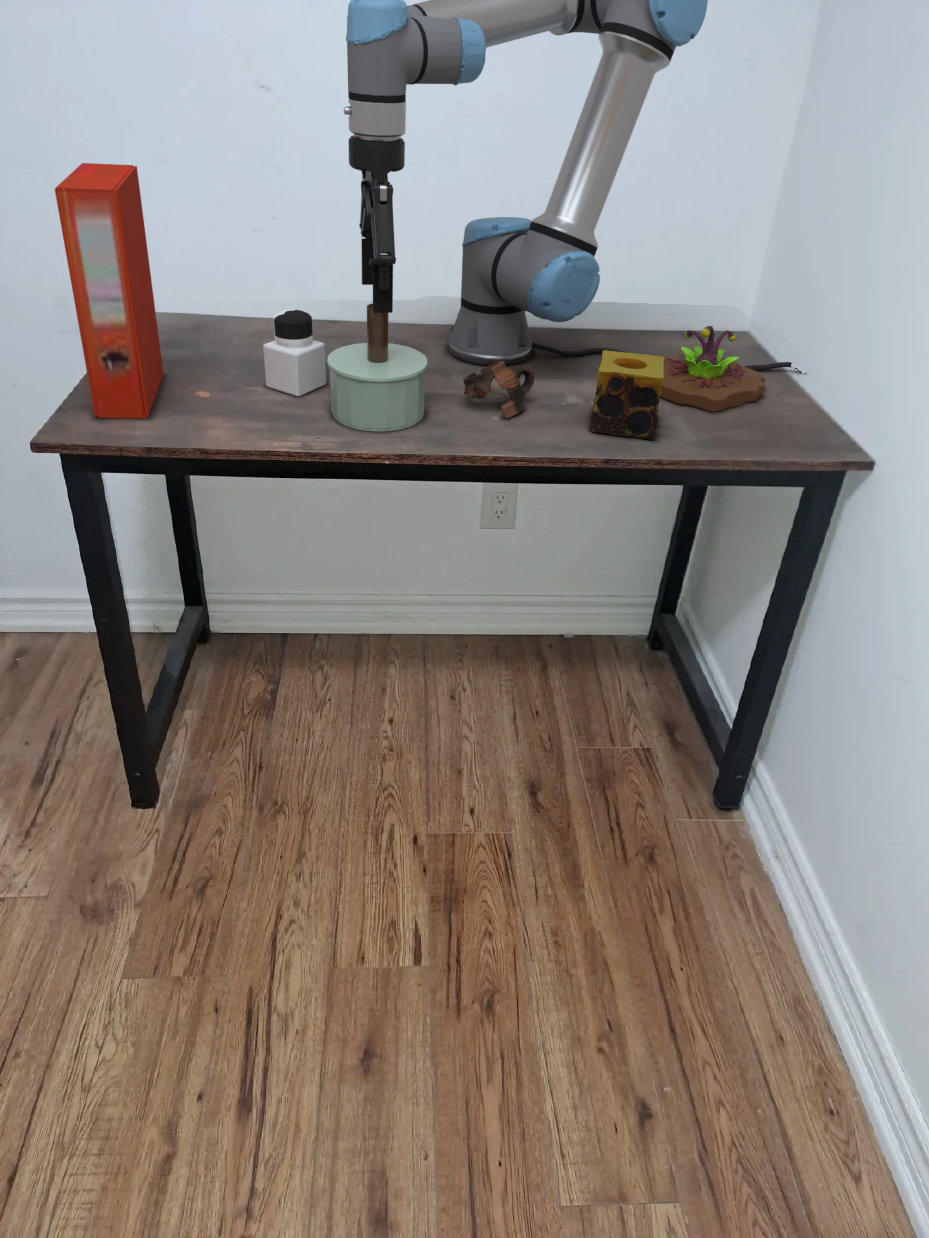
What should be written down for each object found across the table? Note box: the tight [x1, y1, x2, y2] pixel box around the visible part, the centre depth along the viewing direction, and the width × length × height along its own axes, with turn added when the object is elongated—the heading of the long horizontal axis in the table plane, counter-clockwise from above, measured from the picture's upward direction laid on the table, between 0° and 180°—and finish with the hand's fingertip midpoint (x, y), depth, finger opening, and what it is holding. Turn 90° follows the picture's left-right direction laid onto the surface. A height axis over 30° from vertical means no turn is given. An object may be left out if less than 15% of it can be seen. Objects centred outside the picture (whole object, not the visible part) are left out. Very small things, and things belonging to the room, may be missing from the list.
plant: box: [660, 325, 766, 413], centre depth 160 cm, size 20×20×11 cm
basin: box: [329, 368, 426, 433], centre depth 145 cm, size 14×14×8 cm
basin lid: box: [326, 303, 429, 382], centre depth 141 cm, size 15×15×9 cm
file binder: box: [54, 162, 164, 419], centre depth 139 cm, size 8×17×32 cm, turn 7°
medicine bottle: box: [262, 309, 327, 398], centre depth 151 cm, size 7×7×12 cm
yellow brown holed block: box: [589, 350, 665, 441], centre depth 146 cm, size 10×10×10 cm
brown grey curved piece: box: [462, 361, 535, 420], centre depth 151 cm, size 12×10×8 cm
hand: (376, 298), depth 137 cm, fingers open, 13 cm apart
